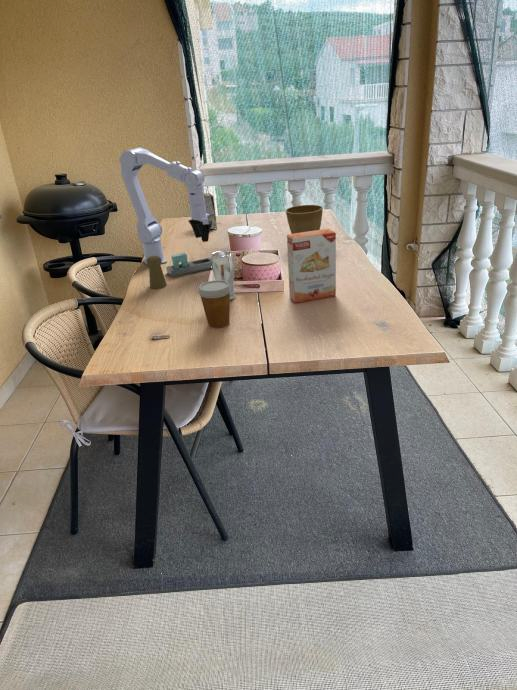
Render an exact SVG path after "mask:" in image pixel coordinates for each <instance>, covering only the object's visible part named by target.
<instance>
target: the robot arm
mask: <svg viewBox="0 0 517 690" xmlns="http://www.w3.org/2000/svg"><path fill="white" fill-rule="evenodd" d="M118 160H119V164H120V175H121V178H122V180H123V183H124V187H125V189H126V192H127V194H128V196H129V199H130V201H131V204H132V207H133V210H134V212H135V215H136V217H137V223H136V228H137V229H136V230H137V237H138V240H140V241H141V243H142V251H143V256H144V259H142V261H143V262H144V263H145V264H146V265H147V258H148V257H150V256H159V257H160V258H161V261H162V262H161V264H165V263H168V260H167V259H165V257H164V253H163V252H164V251H163V246H162V241H161V240H162V239H161V235H162V234H163V228H162V226H161V224H160V223H159V221H158V219H157V218H156V217H155V216H154V215H152V213H151V210H150V208H149V205H148V202H147V200H146V197H145V195H144V191H143V189H142V187H141V184H140V181H139V178H138V175H139V171H140V169H141V168H142V167H143V166H144V165H150V166H152V167H154V168H157V169H159V170H162V171H165V172H166V173H167V175H168V177H170V178H172V179H174V180H177V181H179V182H181V183H183V184H184V186H185V187H186V188H187V195H188V203H189V209H190V219H188V223H189V224H190V226H191V229H192V230H193V233H194V236H195V238H196V239H199V238H201V242H203V243H207V242H209V238H210V231H211V230H210V228H211V225H212V223H209V222H208V218H207V217H208V216H209V214H206V208H205V200H204V194H205V192H204V185H203V183H205V175H204V173H203V172H202V171H201V170H199V169H198V168H195V169H193V168H192V167H190V166H189V167H188V166H185V165H183V164H181V162H180V161H179V160H177V161H172V162H169V161H167V160H165V159H164V158H162V157H160V156H158V155H156V154H155V153H152V152H150V151H149V149H144V148H143V147H140V146H138V147H136V148H132V149H127V150H123V151H122V152H121V155H120V156H119V158H118Z"/></svg>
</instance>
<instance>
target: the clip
mask: <svg viewBox="0 0 517 690" xmlns="http://www.w3.org/2000/svg"><path fill="white" fill-rule="evenodd" d="M170 256H171V261H172V265H173V267H174V269H178V268H180V267H179V264H182V268H183V267H187V266H188V262H189V261H188V256H187V253H186V252H182V253H177V254H172V255H170Z"/></svg>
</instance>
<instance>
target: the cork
mask: <svg viewBox="0 0 517 690" xmlns="http://www.w3.org/2000/svg"><path fill="white" fill-rule="evenodd" d="M161 262H162V261H161V258H160V257H159V256H150V257H148V258H147V264H146V266H148V272H149V274H148V275H149V288H150V289H153V290H159V288H160V289H164V288H166V287H167V286H166V285H167V282H166V278H165V274H164V272H163V269H162V263H161Z"/></svg>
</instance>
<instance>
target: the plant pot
mask: <svg viewBox="0 0 517 690" xmlns="http://www.w3.org/2000/svg"><path fill="white" fill-rule="evenodd" d="M323 210H324V209H323V206H322V205H319V204H302V205H301V204H300V205H295V206H291V207H289V208H286V209H285V215H286V218H287V224H288V227H289V230H290V234H294V233H301V232H308V231H315V230H321V226H322V219H323V212H324V211H323Z"/></svg>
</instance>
